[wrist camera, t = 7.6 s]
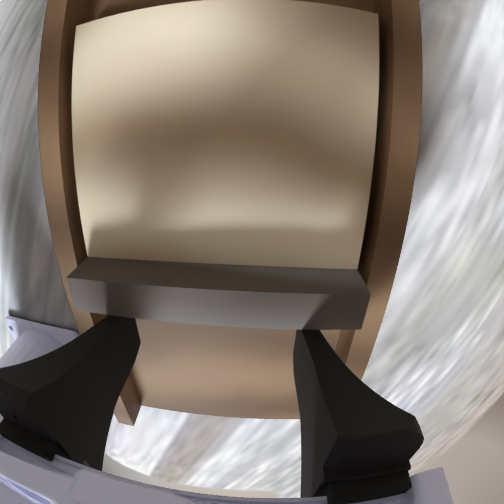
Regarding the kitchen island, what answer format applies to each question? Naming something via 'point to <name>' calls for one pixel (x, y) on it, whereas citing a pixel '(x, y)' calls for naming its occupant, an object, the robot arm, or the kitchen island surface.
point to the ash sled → (225, 162)
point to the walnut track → (220, 337)
